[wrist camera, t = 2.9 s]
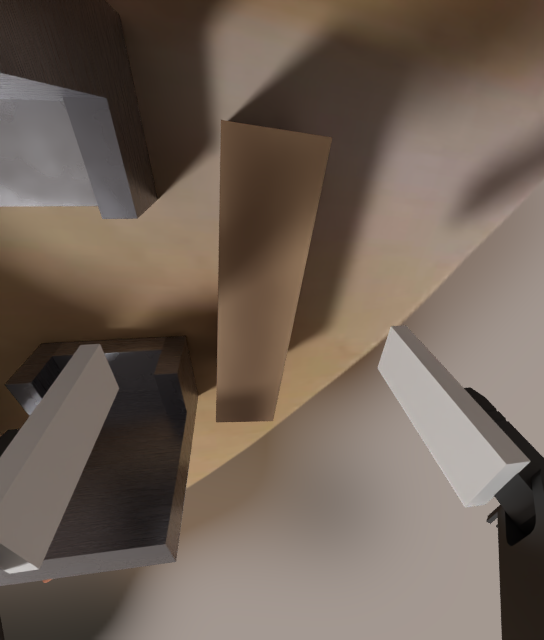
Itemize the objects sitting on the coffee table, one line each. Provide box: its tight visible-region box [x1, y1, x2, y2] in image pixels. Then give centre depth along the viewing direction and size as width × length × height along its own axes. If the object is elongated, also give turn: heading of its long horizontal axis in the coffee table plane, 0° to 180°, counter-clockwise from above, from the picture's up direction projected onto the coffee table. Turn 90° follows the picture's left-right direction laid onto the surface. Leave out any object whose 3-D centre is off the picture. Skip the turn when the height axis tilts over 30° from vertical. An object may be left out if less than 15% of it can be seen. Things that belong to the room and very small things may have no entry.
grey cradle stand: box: [0, 0, 198, 586], centre depth 13 cm, size 10×24×12 cm, turn 179°
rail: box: [216, 120, 332, 422], centre depth 17 cm, size 4×17×6 cm, turn 173°
